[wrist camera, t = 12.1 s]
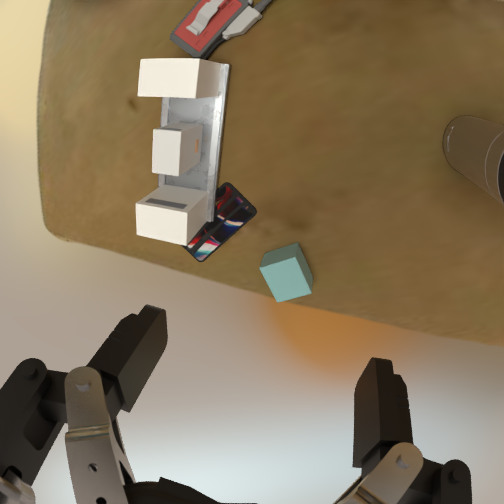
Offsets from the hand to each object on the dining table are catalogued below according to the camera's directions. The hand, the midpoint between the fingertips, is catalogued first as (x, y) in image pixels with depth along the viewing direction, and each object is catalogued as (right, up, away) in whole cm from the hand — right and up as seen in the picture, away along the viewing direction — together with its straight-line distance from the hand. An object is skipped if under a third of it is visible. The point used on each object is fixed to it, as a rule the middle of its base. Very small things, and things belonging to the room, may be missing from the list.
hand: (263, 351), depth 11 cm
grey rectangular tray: (-10, +21, +35) cm, 42 cm away
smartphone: (-7, +9, +42) cm, 43 cm away
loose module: (-10, +20, +34) cm, 41 cm away
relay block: (+4, +3, +39) cm, 39 cm away
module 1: (-9, +29, +29) cm, 42 cm away
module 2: (-11, +12, +39) cm, 42 cm away
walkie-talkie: (-3, +39, +24) cm, 46 cm away
